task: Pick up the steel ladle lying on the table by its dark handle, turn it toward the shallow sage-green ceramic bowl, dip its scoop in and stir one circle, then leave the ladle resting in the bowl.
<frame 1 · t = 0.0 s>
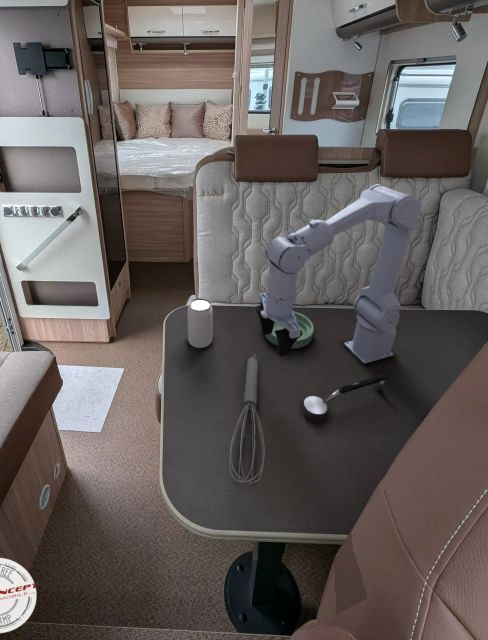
hand: (275, 343, 82), 10 cm above the table, tool pointing down, fingers open, 7 cm apart
kitchen whisk: (247, 415, 77), on the table
bowl: (287, 333, 101), on the table
ladle: (314, 411, 78), on the table
can: (200, 341, 98), on the table
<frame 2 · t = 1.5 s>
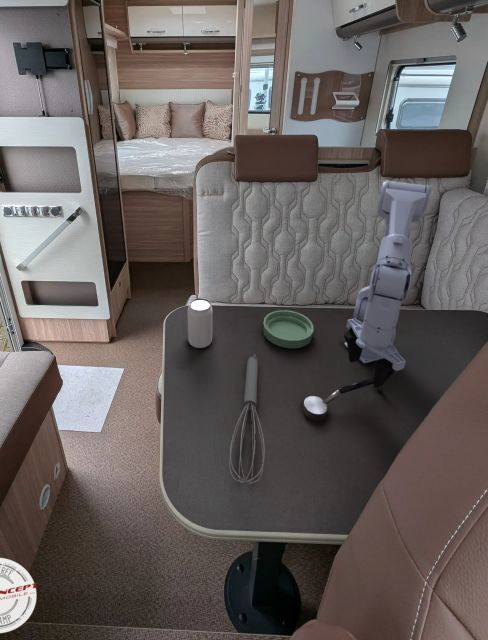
hand: (365, 372, 78), 7 cm above the table, tool pointing down, fingers open, 7 cm apart
nothing on the table moved.
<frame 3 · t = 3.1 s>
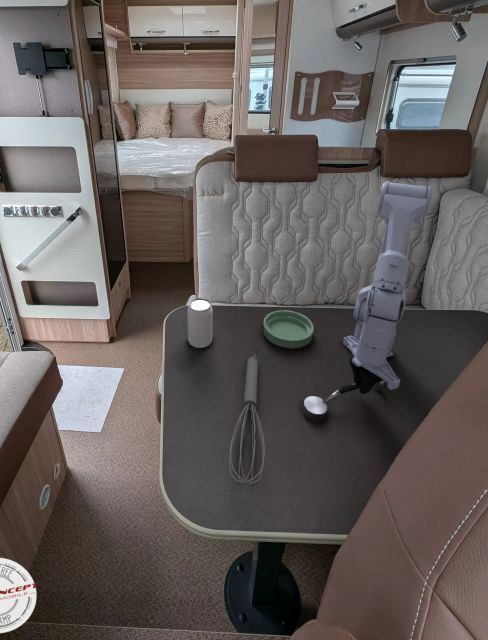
hand: (361, 389, 81), 2 cm above the table, tool pointing down, fingers closed on ladle
ladle: (314, 411, 78), on the table, touching gripper
everything else where it was.
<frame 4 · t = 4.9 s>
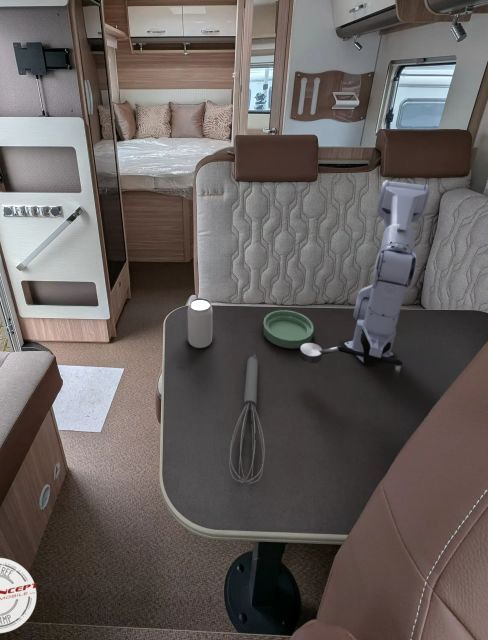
hand: (369, 361, 77), 10 cm above the table, tool pointing down, fingers closed on ladle
ladle: (310, 356, 83), point 7 cm above the table, touching gripper
everything else where it was.
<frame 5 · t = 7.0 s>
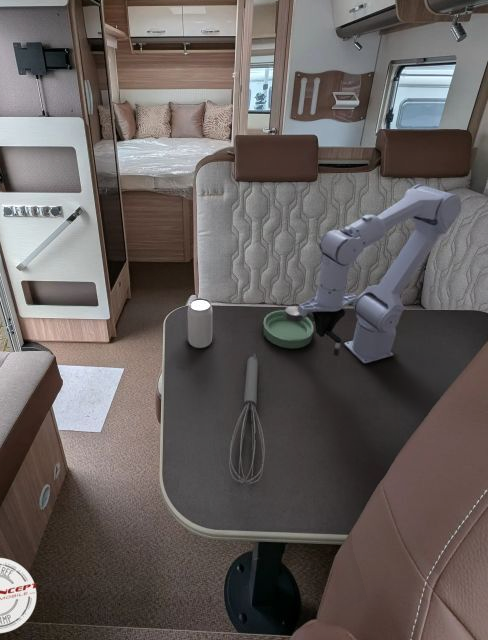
hand: (322, 333, 86), 10 cm above the table, tool pointing down, fingers closed on ladle
ladle: (294, 317, 97), point 7 cm above the table, tilted 5°, touching gripper
everything else where it was.
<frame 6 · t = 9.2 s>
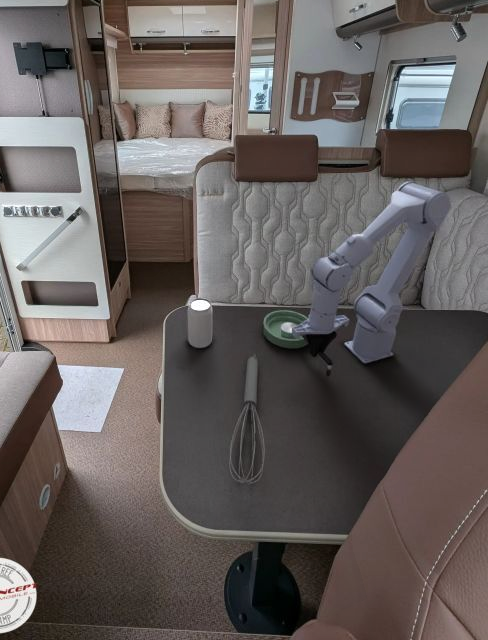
hand: (315, 353, 89), 4 cm above the table, tool pointing down, fingers closed on ladle
ladle: (289, 333, 100), point 1 cm above the table, touching gripper
everything else where it was.
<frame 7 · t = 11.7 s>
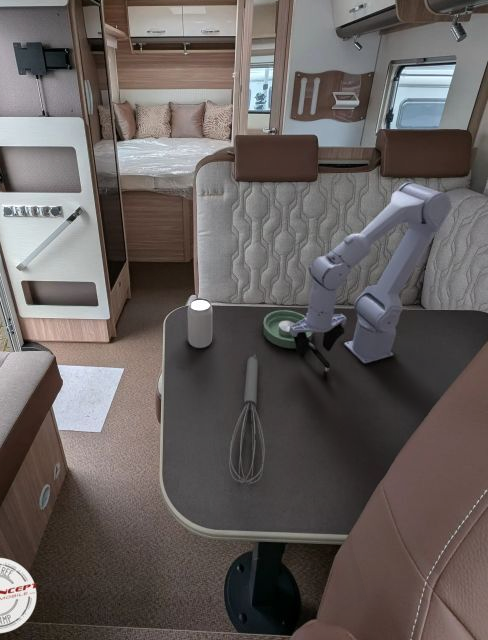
hand: (313, 351, 90), 3 cm above the table, tool pointing down, fingers open, 7 cm apart
ladle: (286, 331, 101), point 1 cm above the table, touching bowl
everything else where it was.
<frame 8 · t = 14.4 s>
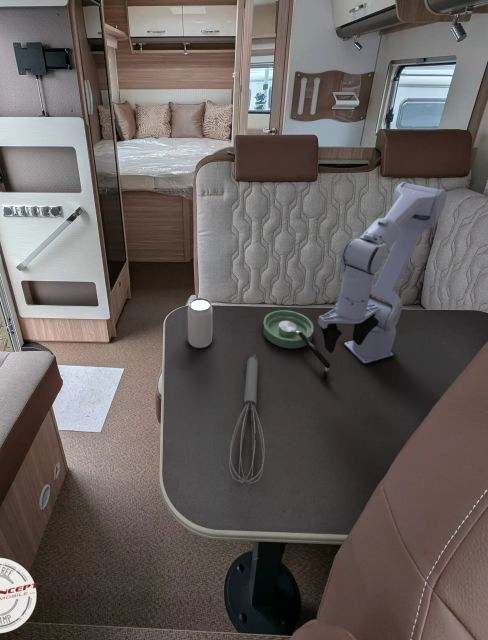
hand: (342, 346, 81), 10 cm above the table, tool pointing down, fingers open, 7 cm apart
nothing on the table moved.
at the end: ladle 0.1 cm off-centre in the bowl, point 0.7 cm above the bowl's base; the gripper is holding nothing; ladle moved 26.3 cm from its start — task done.
